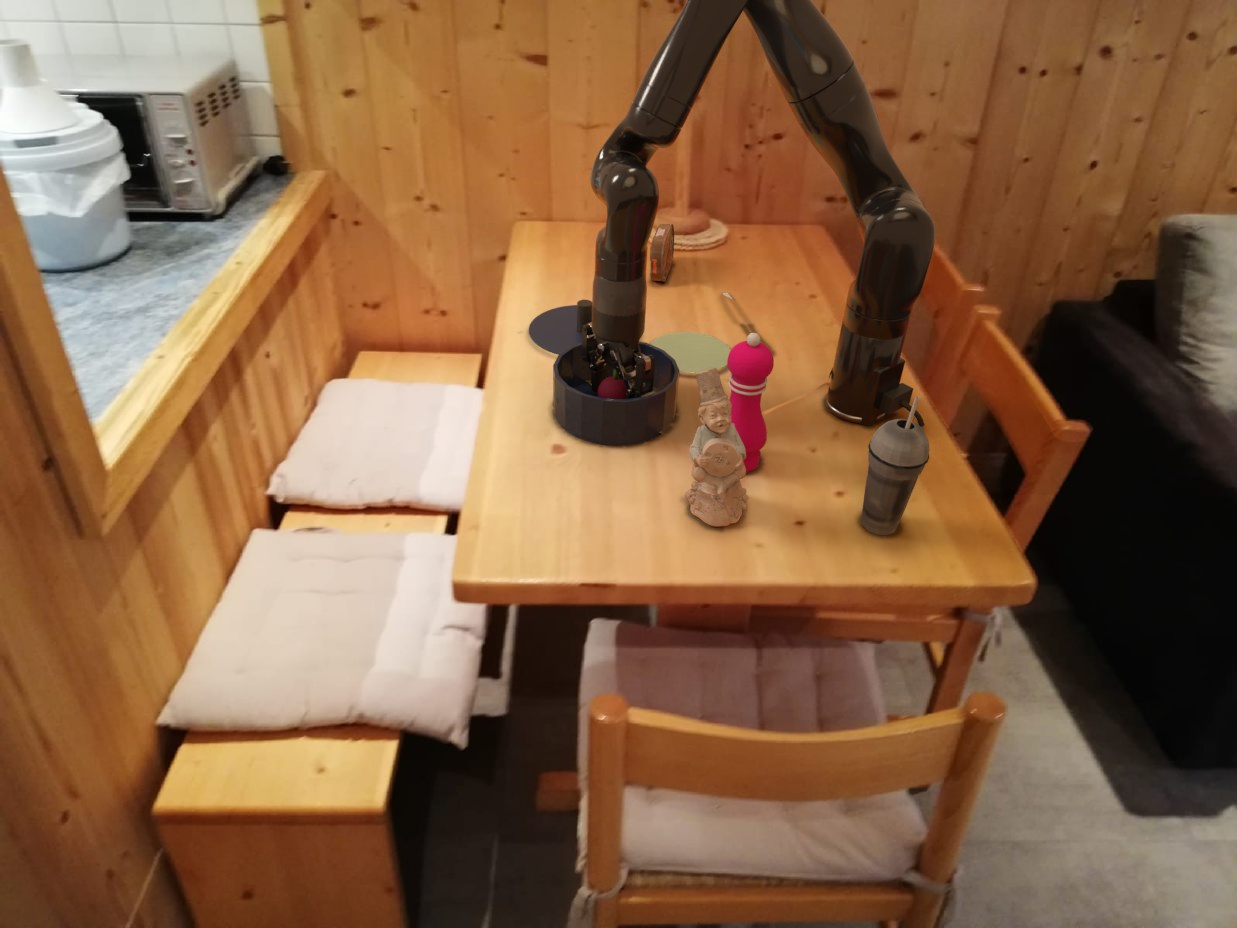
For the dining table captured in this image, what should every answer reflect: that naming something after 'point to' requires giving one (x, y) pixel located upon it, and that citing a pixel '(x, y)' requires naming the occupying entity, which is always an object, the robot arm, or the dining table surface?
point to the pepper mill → (749, 394)
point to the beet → (612, 388)
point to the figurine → (716, 457)
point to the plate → (694, 350)
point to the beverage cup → (893, 472)
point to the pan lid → (561, 326)
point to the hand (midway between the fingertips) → (615, 401)
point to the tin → (662, 252)
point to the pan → (613, 401)
